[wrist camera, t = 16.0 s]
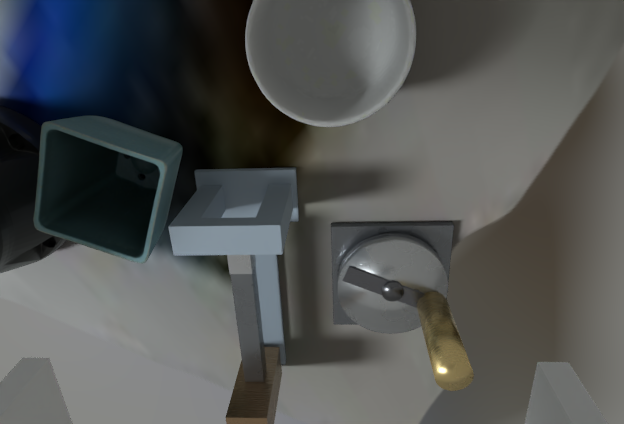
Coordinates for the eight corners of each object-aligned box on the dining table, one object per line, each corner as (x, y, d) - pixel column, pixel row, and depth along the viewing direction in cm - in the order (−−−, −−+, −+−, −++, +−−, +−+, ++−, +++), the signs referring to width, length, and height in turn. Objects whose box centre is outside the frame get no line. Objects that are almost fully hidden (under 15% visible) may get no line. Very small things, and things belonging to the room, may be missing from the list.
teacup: (427, 52, 35) (449, 63, 28) (315, 131, 39) (309, 159, 31) (324, -120, 31) (319, -159, 24) (208, -17, 34) (172, -23, 27)
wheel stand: (331, 223, 42) (331, 228, 41) (451, 221, 41) (454, 226, 40) (333, 319, 46) (333, 326, 45) (442, 319, 46) (444, 326, 45)
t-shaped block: (307, 360, 49) (300, 431, 41) (225, 360, 50) (202, 429, 41) (295, 167, 40) (284, 208, 32) (196, 169, 41) (159, 210, 32)
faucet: (321, 302, 44) (316, 384, 35) (363, 217, 40) (371, 283, 31) (418, 337, 45) (439, 426, 36) (467, 257, 41) (506, 333, 32)
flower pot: (90, 187, 42) (30, 230, 34) (104, 96, 38) (40, 119, 30) (182, 217, 43) (145, 266, 34) (204, 130, 39) (168, 162, 31)
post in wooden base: (281, 373, 49) (270, 447, 40) (248, 372, 49) (230, 446, 41) (268, 226, 41) (251, 280, 33) (230, 226, 42) (203, 280, 33)
